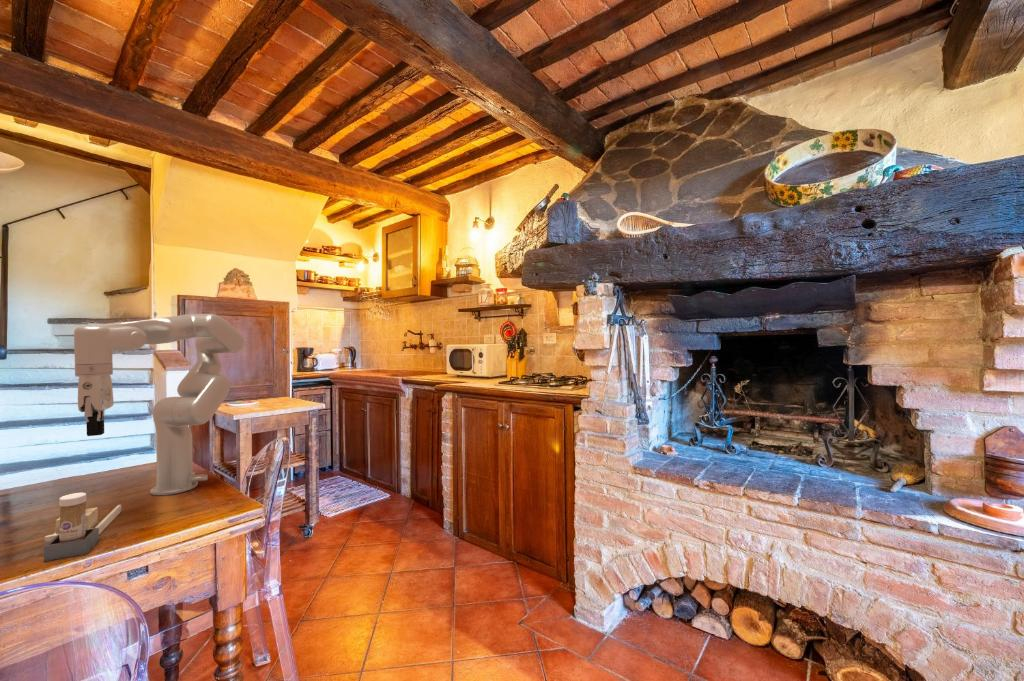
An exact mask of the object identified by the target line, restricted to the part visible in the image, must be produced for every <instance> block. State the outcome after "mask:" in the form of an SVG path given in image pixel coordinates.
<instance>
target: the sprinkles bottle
mask: <svg viewBox="0 0 1024 681" xmlns="http://www.w3.org/2000/svg"><path fill="white" fill-rule="evenodd" d="M86 502H87V493H86V492H75V493H69V494H66V495H63V496H61V497H59V500H58V506H59V508H60V509H59V517H60V528H59V540H60V543H63V542H69V541H75V540H81V539H85V534H86V513H85V509H86Z"/></svg>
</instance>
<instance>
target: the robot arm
mask: <svg viewBox="0 0 1024 681" xmlns="http://www.w3.org/2000/svg"><path fill="white" fill-rule="evenodd" d="M193 338H195V342H194V344H195V345H194V346H195V350H196V356H197V359H196V362H195V364H194V365H193V366H192V368H191V369H190V370H189V371H188V372H187V374H185V376H184V377H183V378H182V380H180V382H179V384H178V385H177V389H176V390H177V394H178V395H179V396H168V397H165V398H164V397H163V398H162V399H160V400H158V401H157V402H156V403H155V404H154V406H153V408H152V418H153V422H154V428H155V433H156V485H155V486H153V487H152V488H151V489H150V491H149V492H150V494H151V495H153V496H168V495H169V496H170V495H175V494H180V493H184V492H187V491H190V490H192V489H193V490H194V488H196V487H197V486H198V484H199V482H205V481H208V479H209V477H208V474H205V473H202V474H195V473H196V472H195V471H193V434H192V430H191V428H190V426H200V425H201V426H202V425H204V424H206V423H207V422H209V421H210V420H211V419H212V418H213V417H214V415H215V413H216V412H217V411H218V409H219V408H220V407H221V406H222V404H223V403H224V401H225V399H226V398H227V396H228V394H229V391H230V387H231V384H230V381H229V378H228V377H227V376H225V375H224V374H221V372H222V370H223V364H222V362H221V359H220V357H219V354H236V353H239V352H240V351H242V350H244V348H245V342H246V341H245V338H244V336H243V334H242V333H241V332H240V331H239V330H237V329H236V328H235V327H234V326H233V325H232V324H231V323H229V322H228V321H227V320H226V319H225V318H223V317H222V316H219V315H218V314H215V313H187V314H186V313H185V314H179V315H173V316H167V317H161V318H150V319H144V320H138V321H137V320H135V321H127V322H126V321H125V322H119V323H112V324H104V325H97V326H94V325H93V326H84V325H83V326H79V327H76V328H75V329H74V330H73V341H74V342H73V344H74V345H73V348H74V352H73V353H74V376H75V378H77V377H78V384H77V409H78V411H79V412H80V413H84V414H83V415H84V418H85V422H86V423H85V424H86V436H87V437H92V436H95V437H96V436H102V435H103V434H105V411H106V410H108V409H110V408H112V407H113V406H114V403H115V402H114V393H113V392H114V390H113V383H112V382H113V381H112V376H111V375H113V372H114V368H113V367H114V366H113V365H114V364H113V362H114V361H113V352H133V351H137V350H140V349H142V348H143V347H144V346H145V345H161V344H170V343H174V342H178V341H182V340H188V339H193Z"/></svg>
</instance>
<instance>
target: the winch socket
mask: <svg viewBox="0 0 1024 681" xmlns="http://www.w3.org/2000/svg"><path fill="white" fill-rule="evenodd" d="M99 537H100V534H99V527H98V528H92V529H86V534H85V539H81V540H75V541H69V542H63V543H60V540H59V534H58V535H57V536H56V537H55V538H53V539H52V540H51V541H50V542H49V543H48V544H46V545H45V544H44V546H43V562H49V561H57V560H61V559H68V558H72V557H79V556H82V555H87V554H88V553H89V552H90V551H91V550H92V549H93V548H94V547H95V545H97V543H99V541H100V540H99V539H100V538H99Z"/></svg>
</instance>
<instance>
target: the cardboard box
mask: <svg viewBox="0 0 1024 681" xmlns="http://www.w3.org/2000/svg"><path fill="white" fill-rule="evenodd" d="M85 513H86V529H91V528H95V527H96V526H97V525H98V524H99V507H98V506H97V507H91V508H85ZM59 528H60V516H59V517H58V518H57V519H55V532H56V534H59Z"/></svg>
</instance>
